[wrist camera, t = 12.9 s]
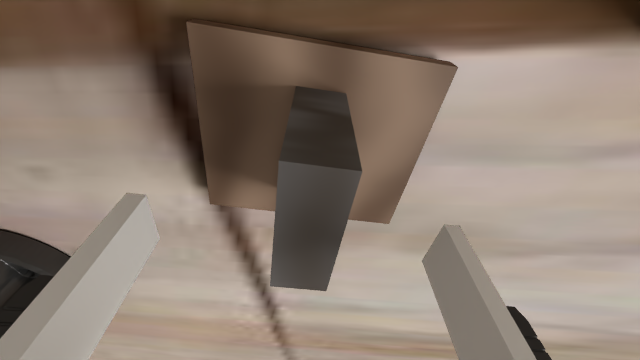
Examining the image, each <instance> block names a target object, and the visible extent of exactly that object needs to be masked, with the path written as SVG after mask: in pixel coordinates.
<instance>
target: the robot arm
mask: <svg viewBox="0 0 640 360" xmlns="http://www.w3.org/2000/svg"><path fill="white" fill-rule="evenodd" d="M159 239H160V237H159V234H158V231H157V227H156V224H155V221H154V218H153V215H152V212H151V208H150V205H149V202H148V199H147V196H146V195H143V194H133V193H126V194H125V195H124V197H123V198H122V199H121V200H120V201H119V202H118V203H117V205H116V206H115V207H114V208H113V209H112V210H111V212H110V213H109V214H108V215H107V216H106V217H105V218H104V220H103V221H102V222H101V223H100V224H99V225H98V227H97V228H96V229H95V230H94V231H93V232H92V233H91V235H90V236H89V237H88V238H87V239H86V240H85V242H84V243H83V244H82V245H81V246H80V247H79V248H78V250H77V251H76V252H75V253H74V254H73V255H72V256H71V258H70V257H68V256H67V255H65V254H63V253H61V252H59V251H58V250H56V249H54V248H52V247H49V246H47V245H45V244H43V243H40V242H38V241H35V240H32V239H30V238H27V237H24V236H20V235H17V234H13V233H10V232H5V231H1V230H0V360H89V358H90V356H91V355H92V353H93V351H94V350H95V348H96V346H97V344H98V343H99V341H100V339H101V338H102V336H103V334H104V333H105V331H106V329H107V327H108V326H109V324H110V322H111V321H112V319H113V317H114V316H115V314H116V312H117V311H118V309H119V307H120V305H121V304H122V302H123V300H124V299H125V297H126V295H127V294H128V292H129V290H130V289H131V287H132V285H133V283H134V282H135V280H136V278H137V277H138V275H139V273H140V272H141V270H142V268H143V267H144V265H145V263H146V261H147V260H148V258H149V256H150V255H151V253H152V251H153V250H154V248H155V246H156V244H157V243H158V241H159ZM422 262H423V265H424V267H425V270H426V273H427V275H428V278H429V281H430V283H431V286H432V289H433V291H434V294H435V297H436V299H437V302H438V305H439V307H440V310H441V313H442V316H443V318H444V321H445V324H446V326H447V329H448V332H449V334H450V337H451V340H452V342H453V345H454V348H455V350H456V353H457V356H458V358H459V360H552V359H551V358H550V356H549V355H548V353H546V352H545V348H544V346H543V345H542V343H541V342H540V340H538V339H537V335H536V333H535V332H534V330H533V329H532V327H531V325H530V324H529V322H528V321H527V319H526V318H525V317H524V316H523V315H522V314H521V313H520V312H519V311H518V310H517V309H516V308H515V307H511V306H506V305H505V304H504V302H503V300H502V298H501V297H500V295H499V293H498V292H497V290H496V288H495V286H494V285H493V283H492V281H491V279H490V278H489V276H488V274H487V272H486V271H485V269H484V267H483V265H482V264H481V262H480V260H479V259H478V257H477V255H476V253H475V252H474V250H473V248H472V246H471V245H470V243H469V241H468V239H467V238H466V236H465V234H464V232H463V231H462V229H461V227H460V226H454V225H444V226H443V228H442V229H441V231H440V232H439V234H438V236H437V237H436V239H435V241H434V242H433V244H432V245H431V247H430V249H429V250H428V252H427V253H426V255H425V257H424V258H423V260H422Z"/></svg>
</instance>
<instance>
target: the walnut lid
mask: <svg viewBox="0 0 640 360" xmlns="http://www.w3.org/2000/svg"><path fill="white" fill-rule="evenodd" d="M186 25H187V33H188V40H189V48H190V55H191V63H192V71H193V78H194V86H195V93H196V101H197V109H198V116H199V124H200V131H201V139H202V147H203V154H204V162H205V169H206V177H207V185H208V192H209V200H210V204H214V205H223V206H232V207H241V208H250V209H259V210H268V211H275V224H274V238H273V253H272V267H271V281H270V286H274V287H286V288H297V289H309V290H320V291H326V290H327V287H328V283H329V280H330V277H331V273H332V270H333V267H334V264H335V260H336V257H337V254H338V250H339V247H340V244H341V241H342V237H343V234H344V231H345V227H346V224H347V221H348V219H349V220H358V221H367V222H376V223H385V224H389V223H390V220H391V218H392V216H393V214H394V211H395V209H396V207H397V205H398V202H399V200H400V198H401V195H402V193H403V191H404V189H405V186H406V184H407V182H408V180H409V177H410V175H411V173H412V171H413V168H414V166H415V164H416V161H417V159H418V157H419V155H420V152H421V150H422V148H423V146H424V143H425V141H426V139H427V137H428V134H429V132H430V130H431V128H432V125H433V123H434V121H435V118H436V116H437V114H438V112H439V109H440V107H441V105H442V103H443V100H444V98H445V96H446V94H447V91H448V89H449V87H450V84H451V82H452V80H453V78H454V75H455V73H456V71H457V69H458V67H457V66H455V65H454V64H453V63H451V62H448V61H442V60H437V59H431V58H425V57H419V56H413V55H407V54H401V53H395V52H389V51H383V50H377V49H371V48H365V47H360V46H354V45H348V44H342V43H336V42H330V41H324V40H318V39H312V38H306V37H300V36H294V35H288V34H282V33H277V32H271V31H265V30H259V29H253V28H247V27H241V26H235V25H229V24H223V23H217V22H211V21H205V20H200V19H193V20H190V21H187V22H186Z"/></svg>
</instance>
